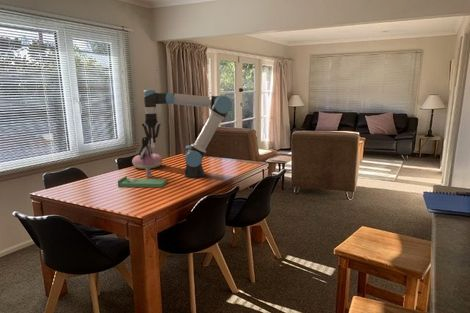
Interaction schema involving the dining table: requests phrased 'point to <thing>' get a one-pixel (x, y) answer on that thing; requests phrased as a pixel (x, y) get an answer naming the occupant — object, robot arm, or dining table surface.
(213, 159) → the dining table surface
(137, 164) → the cushion
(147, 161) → the figurine
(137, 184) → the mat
